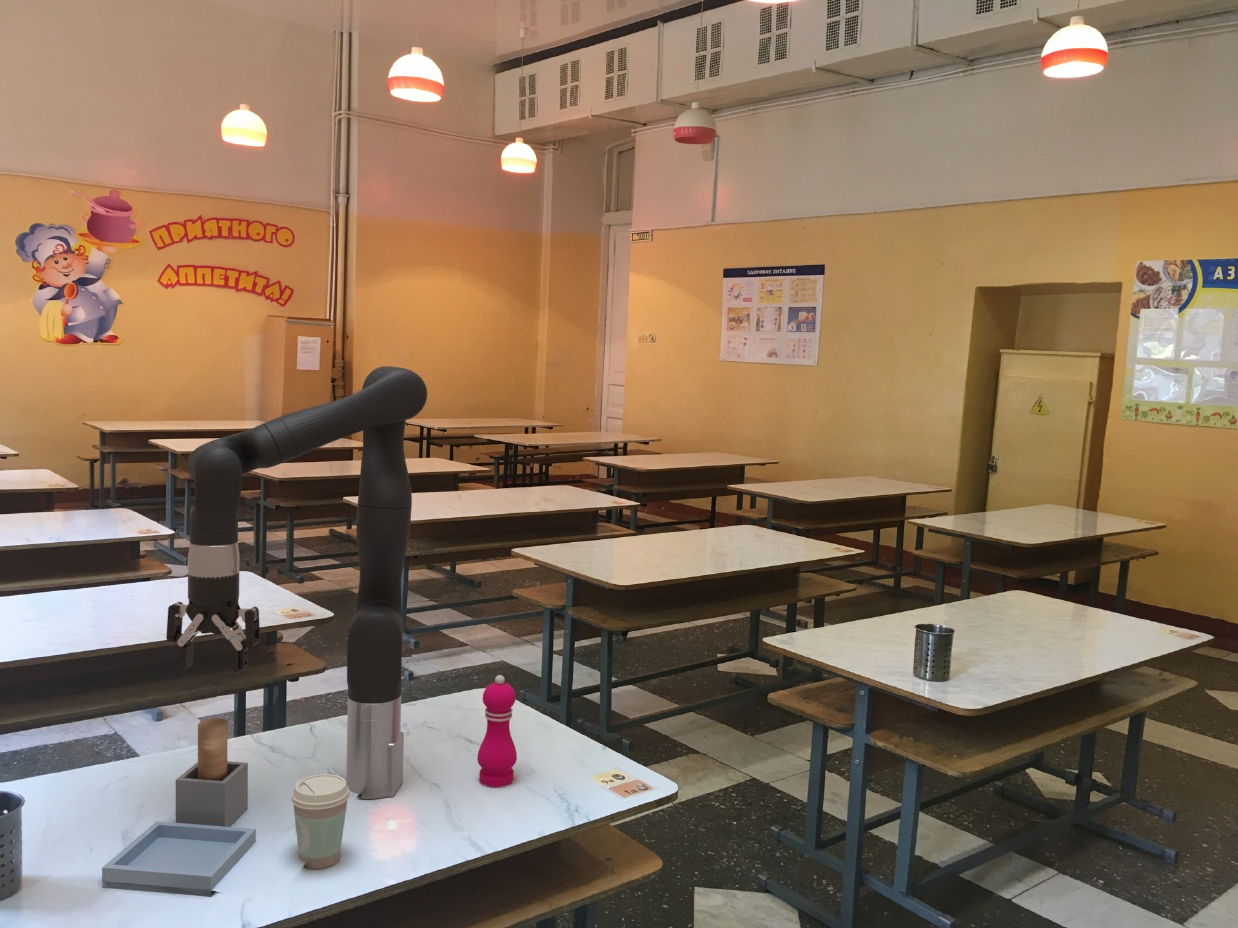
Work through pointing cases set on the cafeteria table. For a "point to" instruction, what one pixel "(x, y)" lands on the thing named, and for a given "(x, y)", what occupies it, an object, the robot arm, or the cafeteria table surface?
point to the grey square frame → (212, 797)
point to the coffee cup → (320, 818)
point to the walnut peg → (212, 749)
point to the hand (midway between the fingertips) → (213, 669)
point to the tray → (178, 858)
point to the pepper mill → (497, 736)
